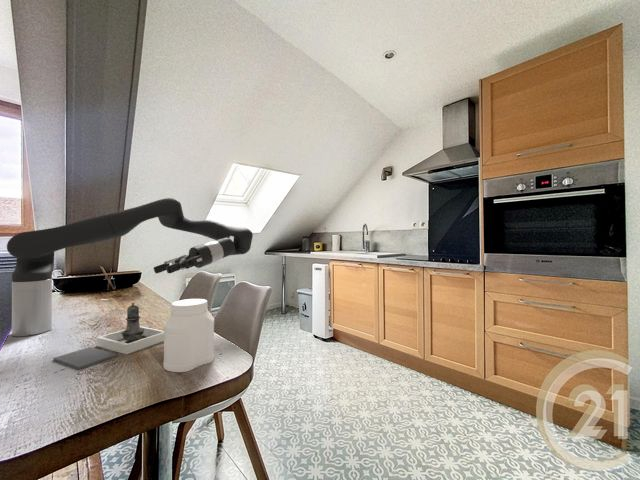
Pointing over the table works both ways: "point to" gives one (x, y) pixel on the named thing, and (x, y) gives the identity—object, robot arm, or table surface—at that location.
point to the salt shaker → (132, 325)
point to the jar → (188, 336)
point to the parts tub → (113, 344)
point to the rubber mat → (84, 357)
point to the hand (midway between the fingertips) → (160, 270)
